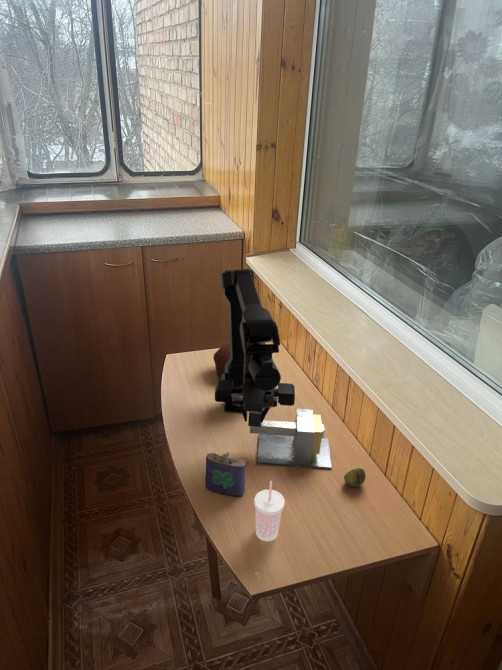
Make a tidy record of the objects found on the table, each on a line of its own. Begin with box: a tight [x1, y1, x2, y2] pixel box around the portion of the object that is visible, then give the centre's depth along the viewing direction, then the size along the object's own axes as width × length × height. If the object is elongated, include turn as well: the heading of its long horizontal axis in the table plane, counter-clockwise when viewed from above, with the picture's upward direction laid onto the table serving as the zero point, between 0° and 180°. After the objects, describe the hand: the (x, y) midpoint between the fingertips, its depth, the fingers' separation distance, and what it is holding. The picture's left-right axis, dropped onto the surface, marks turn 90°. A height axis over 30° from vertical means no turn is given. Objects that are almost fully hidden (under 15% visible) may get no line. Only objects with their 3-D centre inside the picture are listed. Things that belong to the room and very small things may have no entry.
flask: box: [204, 451, 247, 498], centre depth 114 cm, size 9×3×11 cm, turn 74°
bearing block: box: [256, 408, 332, 470], centre depth 127 cm, size 18×11×10 cm, turn 87°
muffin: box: [213, 343, 230, 381], centre depth 158 cm, size 12×11×10 cm
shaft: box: [247, 411, 325, 438], centre depth 125 cm, size 18×3×6 cm, turn 87°
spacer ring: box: [312, 413, 322, 454], centre depth 126 cm, size 2×7×7 cm, turn 177°
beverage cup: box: [253, 480, 286, 542], centre depth 103 cm, size 6×6×14 cm
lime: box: [343, 467, 367, 488], centre depth 119 cm, size 4×5×5 cm
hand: (253, 421), depth 126 cm, fingers open, 3 cm apart
